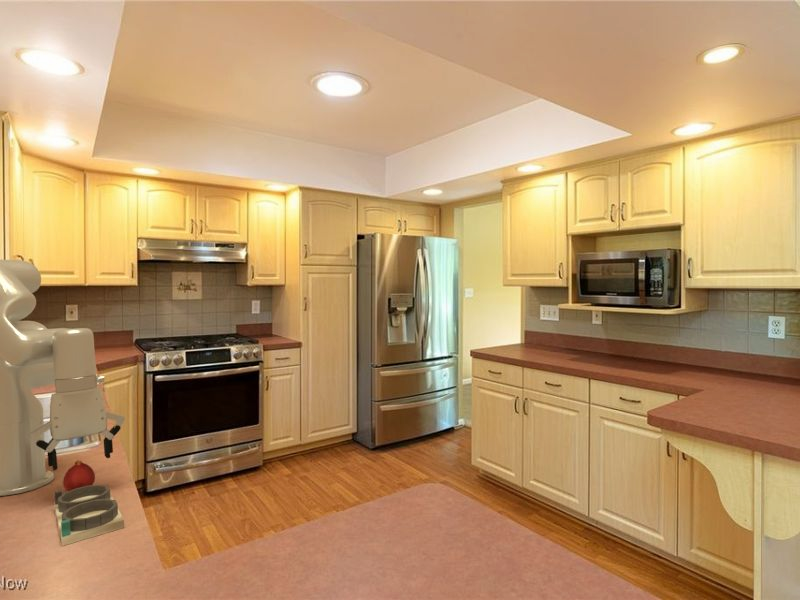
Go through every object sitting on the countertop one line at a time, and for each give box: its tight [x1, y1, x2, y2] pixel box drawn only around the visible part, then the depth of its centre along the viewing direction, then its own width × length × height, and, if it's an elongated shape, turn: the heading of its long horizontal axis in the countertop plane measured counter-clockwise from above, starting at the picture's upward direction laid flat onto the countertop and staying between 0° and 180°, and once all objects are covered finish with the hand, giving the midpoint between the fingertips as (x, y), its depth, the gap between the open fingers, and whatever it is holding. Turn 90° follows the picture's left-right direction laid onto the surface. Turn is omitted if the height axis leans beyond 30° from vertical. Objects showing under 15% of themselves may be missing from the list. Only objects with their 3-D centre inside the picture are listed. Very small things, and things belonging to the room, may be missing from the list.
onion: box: [62, 459, 96, 492], centre depth 105 cm, size 6×6×8 cm
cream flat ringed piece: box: [53, 484, 125, 547], centre depth 94 cm, size 18×10×4 cm, turn 39°
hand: (81, 462), depth 104 cm, fingers open, 9 cm apart
